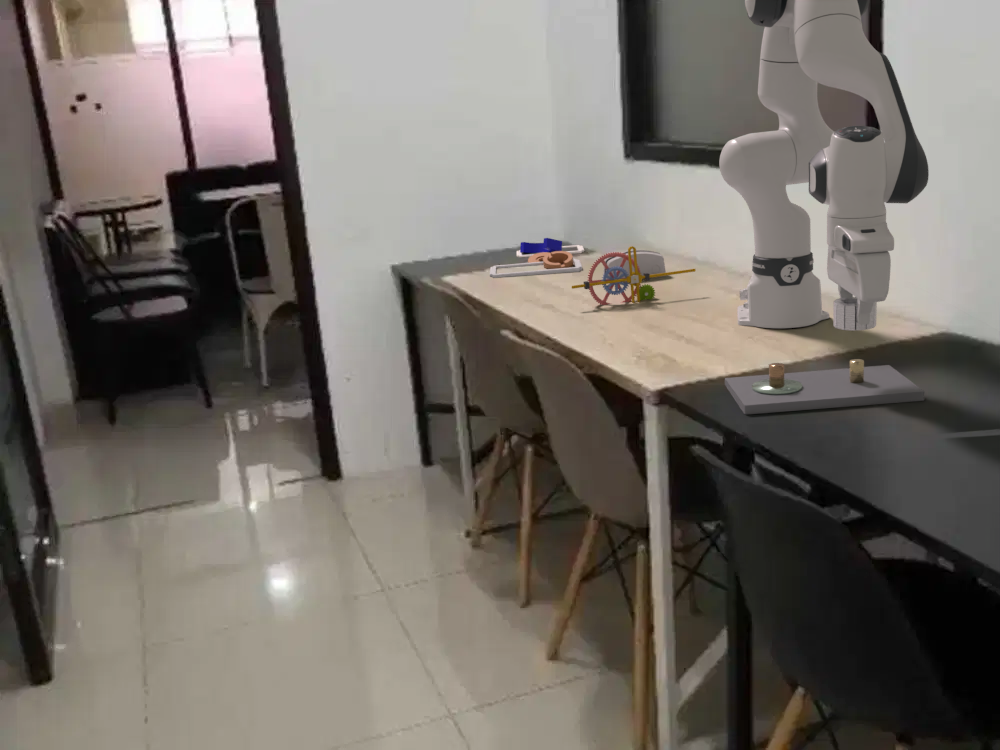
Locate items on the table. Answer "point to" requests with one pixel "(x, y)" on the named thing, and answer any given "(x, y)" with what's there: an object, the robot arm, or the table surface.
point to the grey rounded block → (639, 262)
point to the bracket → (553, 259)
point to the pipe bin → (535, 272)
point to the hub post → (776, 382)
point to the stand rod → (856, 371)
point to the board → (826, 390)
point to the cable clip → (541, 246)
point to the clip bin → (580, 248)
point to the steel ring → (851, 315)
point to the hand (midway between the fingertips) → (855, 317)
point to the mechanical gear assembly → (623, 279)
